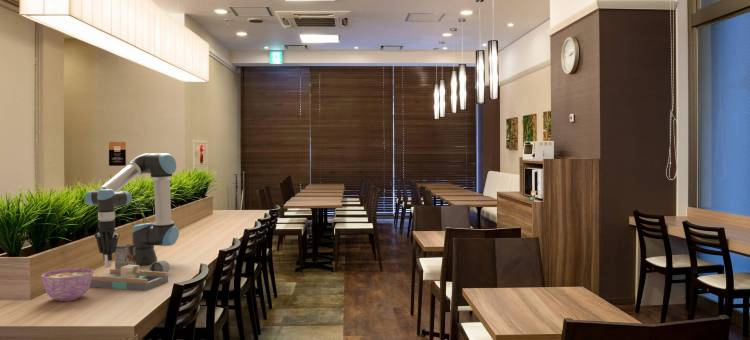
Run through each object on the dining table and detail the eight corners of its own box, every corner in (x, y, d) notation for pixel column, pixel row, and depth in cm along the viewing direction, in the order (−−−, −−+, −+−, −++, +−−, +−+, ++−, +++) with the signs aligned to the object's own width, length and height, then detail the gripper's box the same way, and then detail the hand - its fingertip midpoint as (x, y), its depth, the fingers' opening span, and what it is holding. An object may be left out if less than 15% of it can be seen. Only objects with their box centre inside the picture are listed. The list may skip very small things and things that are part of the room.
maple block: (129, 276, 263) (129, 264, 263) (139, 277, 262) (139, 265, 261) (120, 279, 257) (120, 267, 257) (131, 280, 256) (131, 267, 255)
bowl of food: (60, 292, 244) (60, 267, 243) (102, 293, 243) (102, 268, 243) (30, 304, 224) (30, 277, 223) (77, 305, 223) (76, 278, 223)
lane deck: (113, 278, 272) (112, 268, 272) (168, 281, 265) (167, 271, 265) (86, 286, 255) (86, 276, 254) (145, 290, 248) (144, 280, 247)
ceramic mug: (170, 273, 283) (170, 259, 283) (163, 276, 275) (162, 262, 275) (152, 273, 285) (151, 259, 284) (144, 276, 276) (143, 262, 276)
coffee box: (126, 273, 282) (126, 243, 282) (136, 274, 281) (136, 244, 281) (114, 277, 273) (114, 246, 273) (125, 278, 272) (125, 247, 272)
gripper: (89, 220, 259) (91, 268, 261) (112, 221, 256) (114, 269, 258) (100, 218, 267) (102, 264, 268) (123, 219, 264) (124, 265, 265)
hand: (108, 266), depth 263 cm, fingers closed
